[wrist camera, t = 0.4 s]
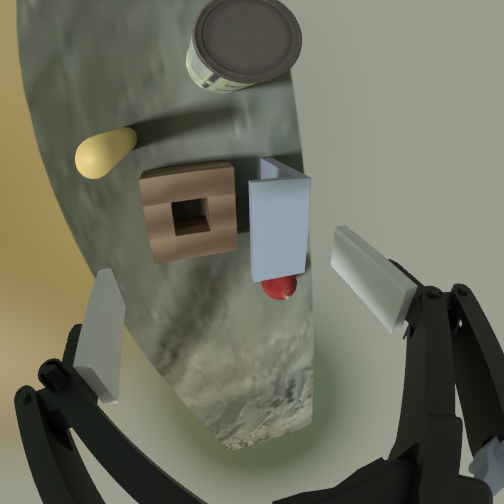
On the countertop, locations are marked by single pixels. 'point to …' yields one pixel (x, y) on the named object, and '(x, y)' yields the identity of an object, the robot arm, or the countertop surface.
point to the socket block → (198, 230)
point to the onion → (280, 287)
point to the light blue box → (278, 220)
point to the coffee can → (242, 44)
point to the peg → (104, 151)
